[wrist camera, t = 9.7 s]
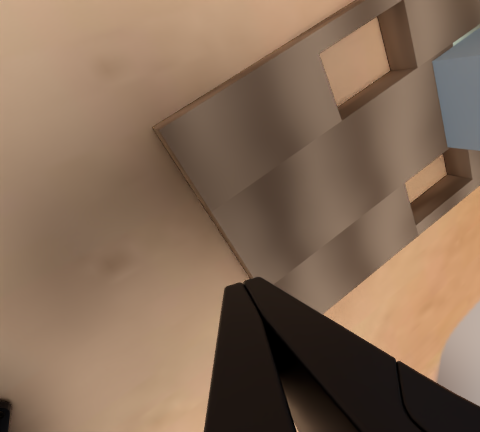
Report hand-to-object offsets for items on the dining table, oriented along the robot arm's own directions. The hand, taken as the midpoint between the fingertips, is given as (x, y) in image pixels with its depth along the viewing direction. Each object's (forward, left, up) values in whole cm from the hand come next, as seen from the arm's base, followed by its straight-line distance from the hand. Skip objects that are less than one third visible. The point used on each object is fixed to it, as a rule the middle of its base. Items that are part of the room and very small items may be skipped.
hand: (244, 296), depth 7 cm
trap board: (+6, -13, -11) cm, 18 cm away
